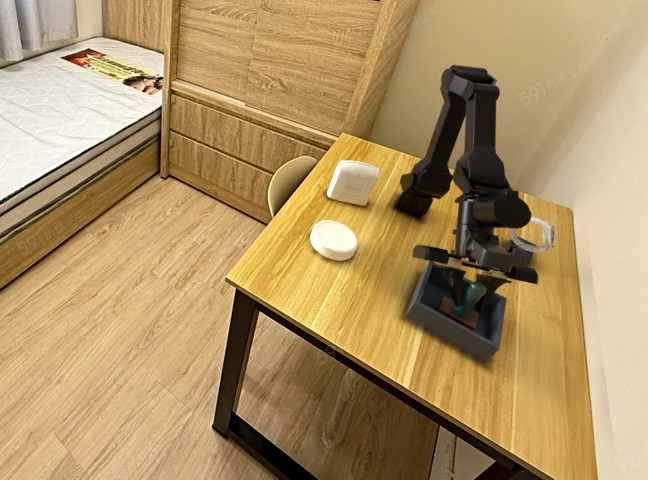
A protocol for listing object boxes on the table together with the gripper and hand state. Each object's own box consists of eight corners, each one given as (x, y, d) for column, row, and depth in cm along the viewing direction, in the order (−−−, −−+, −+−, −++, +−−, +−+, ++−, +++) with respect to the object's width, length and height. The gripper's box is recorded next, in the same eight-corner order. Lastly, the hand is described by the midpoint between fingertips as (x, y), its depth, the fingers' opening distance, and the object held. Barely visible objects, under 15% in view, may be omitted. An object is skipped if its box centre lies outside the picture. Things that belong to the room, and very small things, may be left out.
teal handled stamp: (432, 318, 81) (460, 281, 74) (436, 305, 83) (463, 268, 77) (467, 337, 78) (499, 301, 71) (471, 323, 80) (502, 286, 73)
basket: (404, 317, 81) (414, 302, 78) (420, 275, 90) (429, 260, 87) (484, 364, 74) (499, 349, 71) (493, 313, 83) (507, 298, 80)
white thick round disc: (305, 227, 101) (308, 217, 99) (345, 230, 101) (350, 220, 99) (315, 259, 93) (319, 249, 91) (359, 263, 92) (364, 253, 90)
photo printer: (365, 197, 111) (381, 162, 104) (367, 208, 107) (383, 172, 100) (326, 189, 113) (338, 154, 106) (326, 199, 110) (340, 164, 103)
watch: (535, 271, 91) (564, 239, 85) (493, 250, 96) (517, 218, 90) (539, 258, 95) (568, 226, 88) (498, 238, 99) (522, 206, 93)
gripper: (443, 216, 73) (434, 304, 70) (565, 240, 69) (561, 335, 66) (415, 216, 84) (407, 293, 81) (519, 237, 79) (514, 319, 77)
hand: (468, 309), depth 76 cm, fingers open, 3 cm apart
